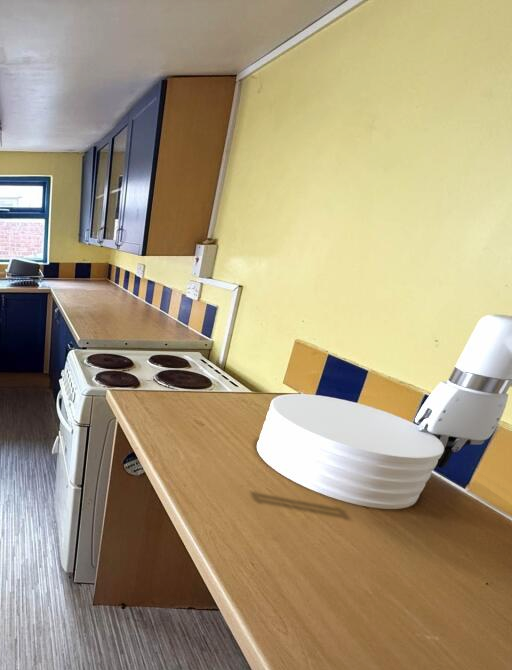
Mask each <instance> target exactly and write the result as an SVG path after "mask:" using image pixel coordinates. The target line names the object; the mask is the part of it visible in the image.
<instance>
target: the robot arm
mask: <svg viewBox="0 0 512 670" xmlns="http://www.w3.org/2000/svg"><path fill="white" fill-rule="evenodd" d="M510 387H511V388H512V315H507V314H488V315H485V316H483V317H482V318H480V319H479V321H478V322H477V324H476V326H475V328H474V330H473V331H472V333H471V335H470V337H469V339H468V340H467V343H466V344H465V347H464V349H463V350H462V352H461V354H460V356H459V357H458V359H457V362H456V363H455V366H454V367H453V369H452V371H451V373H450V376H449V377H448V379H447V381H445V380H444V381H442V380H441V382H440V383H439V384H437V386H435V388H434V389H433V390H432V392H431V393H430V394H429V395H428V397H427V398H426V400H425V401H424V403H423V404H422V405H421V407H420V408H419V411H418V412H417V415H416V417H415V420H414V423H415V424H416V425H418V427H417V428H416V430H418V431H419V432H425V433H431V434H433V435H434V436H436V437H437V438H438V439H439V440H440V441H441V442H442V444H443V446H444V452H443V454H442V456H441V457H440V458H439V459H438V463H437V465H436V467H435V468H440V469H444V468H445V467H446V465H447V463H448V462H449V460H450V459H451V457H452V455H453V453H455V452H459V451H460V450H461V449H462V448H463V447H466V446H469V445H470V446H471V445H483V444H484V443H485V441H486V440H488V439H489V438H490V437H491V436H492V435H493V433H494V432H495V430H497V427H498V425H499V423H500V422H501V419H502V417H503V414H504V413H505V410H506V407H507V402H508V399H509V394H508V393H507V392H508V391H509V389H510Z"/></svg>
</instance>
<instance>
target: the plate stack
mask: <svg viewBox="0 0 512 670" xmlns="http://www.w3.org/2000/svg"><path fill="white" fill-rule="evenodd" d="M418 426H419V424H417V423H415V422H412V421H410V420H408V419H405V418H403V417H401V416H398V415H395V414H393V413H390V412H388V411H385V410H382V409H378V408H375V407H373V406H369V405H366V404H362V403H358V402H355V401H350V400H346V399H341V398H337V397H331V396H325V395H318V394H308V393H287V394H282V395H278V396H275V397H274V398H273V399H272V400H271V402H270V406H269V410H268V411H267V414H266V418H265V420H264V423H263V426H262V429H261V432H260V435H259V438H258V441H257V444H256V450H257V452H258V454H259V456H260V457H261V459H263V461H264V462H265V463H266V464H267V465H268V466H270V467H271V468H272V469H274V470H275V471H276V472H277V473H279V474H281V475H282V476H284V477H285V478H287V479H289V480H291V481H293V482H294V483H296V484H298V485H300V486H303V487H304V488H307V489H309V490H311V491H313V492H316V493H318V494H321V495H324V496H326V497H330V498H332V499H335V500H339V501H342V502H345V503H350V504H353V505H358V506H363V507H367V508H373V509H384V510H399V509H400V510H401V509H406V508H409V507H412V506H413V505H414V504H416V503H417V501H418V499H419V498H420V496H421V495H420V494H421V493H422V492H423V490H424V488H425V486H426V484H427V482H428V481H429V480H430V478H431V476H432V473H433V471H434V470H435V468H437V467H436V465H437V463H438V459H439V458H440V457H441V456H442V454H443V452H444V446H443V444H442V442H441V441H440V440H439V439H438V438H437V437H436V436H434V435H433V434H431V433H425V432H419V431H418V430H416V428H417V427H418Z"/></svg>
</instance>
